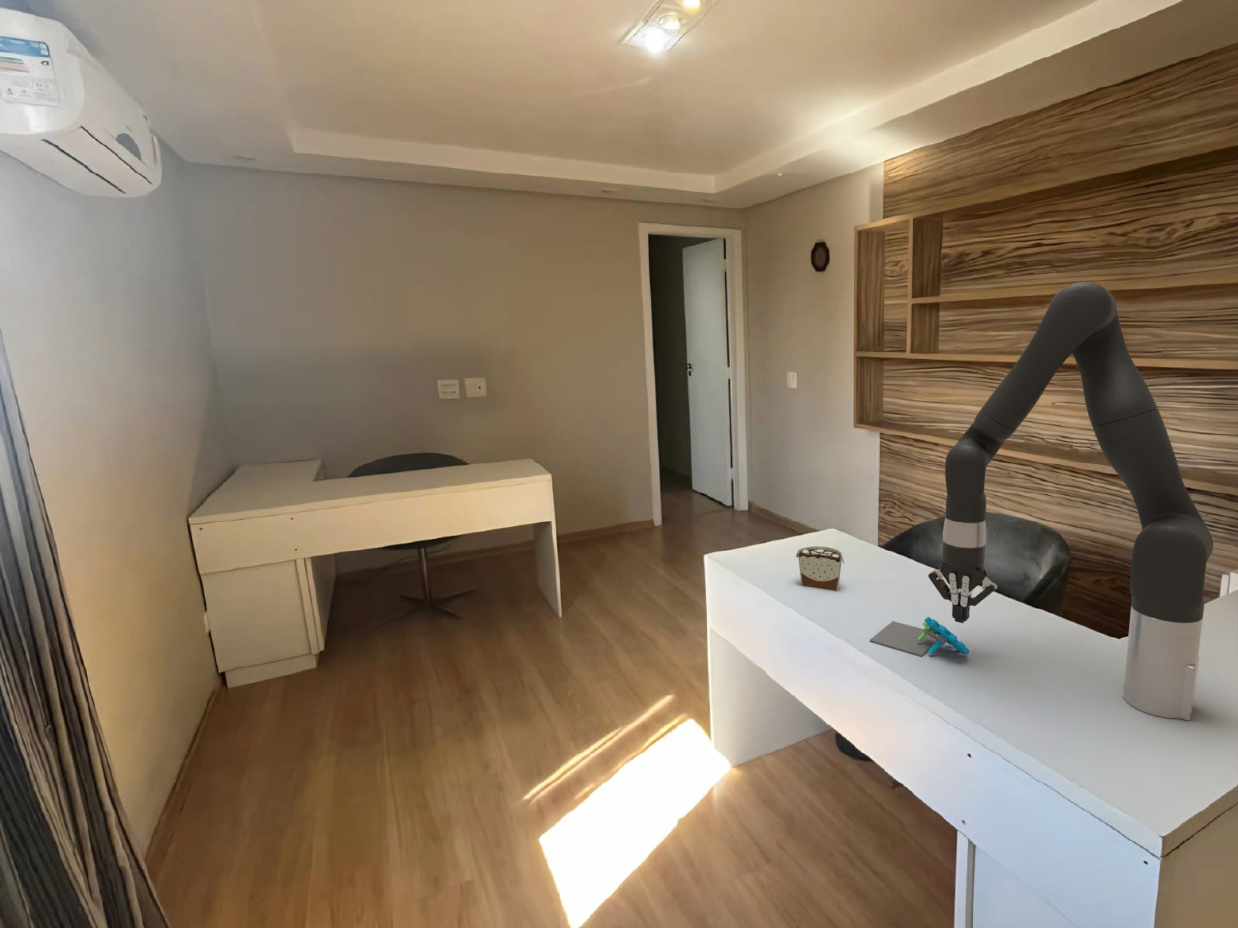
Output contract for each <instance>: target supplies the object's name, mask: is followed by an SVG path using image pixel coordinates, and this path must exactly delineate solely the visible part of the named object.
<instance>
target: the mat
mask: <svg viewBox="0 0 1238 928" xmlns="http://www.w3.org/2000/svg"><path fill="white" fill-rule="evenodd" d="M923 629H924V628H921V627H917V626H913V625H910V624H906V623H902V622H899V621H894V620H892V621H891V622H890V623H889V624H887V625H886V626H885V627H884V628H882V629H881V630H880V631H878V632H877V633H876V634H875V635H873V637H871V638H870V639H869V642H870V643H873V644H875V645H876V644H877V645H880V646H882V647H883V646H884V647H887V648H890V649H892V650H893V649H894V650H896V651H900V652H904V653H907V654H910V655H914V656H918V657H921V658H923V656H925V655H926V653H927V652H928V650H929V649H930V648H931V647H932V646H933V645H934V644H935V643H936V642H937V640H936V639H934V638H933V637H931V636H930V635H928V634H927V635H926V636H925V637H924V638H923V639H922V640H921V641H918V640H917V639H918V638H919V637H920V636H921V635H922V634H923V632H924V631H923ZM931 632H932V631H931ZM932 633H933V632H932ZM933 634H934V633H933ZM934 635H935V634H934ZM936 636H937V637H939V636H938V635H937V634H936Z"/></svg>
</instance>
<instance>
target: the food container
mask: <svg viewBox="0 0 1238 928" xmlns="http://www.w3.org/2000/svg"><path fill="white" fill-rule="evenodd" d="M795 558H796V559H797V558H798V565H799V576H800V584H801V587H804V588H811V589H817V590H822V591H831V592H836V593H837V592H839V587H840V579H841V578H840V576H841V567H842V564H843V565H844V563H845V560H844V555H843V553H842V551H840V550H838V549H836V548H834V547H828V546H820V545H819V546H818V545H815V546H806V547H802V548H800V549H798V550H797V552H796V555H795Z"/></svg>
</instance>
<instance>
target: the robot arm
mask: <svg viewBox="0 0 1238 928" xmlns="http://www.w3.org/2000/svg"><path fill="white" fill-rule="evenodd" d="M1117 307H1118V306H1117V303H1116V299H1115V297H1114V296H1113V294H1112V293H1111V292H1110V291H1109V290H1108V289H1106V287H1104V286H1103V285H1101V284H1098V283H1095V282H1090V281H1081V282H1075V283H1072V284H1069V285H1066V286H1065V287H1063V288H1062V289H1061V290H1060V291H1058V292H1057V293H1056V294H1055V295H1054V296H1053V298H1052V299H1051V301H1050V303H1049V305H1048V307H1047V309H1046V312H1045V314H1044V316H1043V318H1042V320H1041V322H1040V323H1039V325H1038V327H1037V329H1036V331H1035V333H1034V335H1033V336H1032V338H1031V340H1030V342H1029V343H1028V345H1027V346H1026V348H1025V349H1024V351H1023V352H1022V354H1021V355H1020V356H1019V358H1018V359H1017V361H1016V363H1015V364H1014V365H1013V366H1012V367H1011V369H1010V371H1009V372H1008V373H1007V374H1006V375H1005V377H1004V378H1003V379H1002V380H1001V382H1000V383H999V384H998V386H997V387H996V388H995V390H994V391H993V392H992V393H991V395H990V396H989V397H988V398H987V400H986V401H985V402H984V404H983V405H982V407H981V408H980V410H979V411H978V413H977V414H976V415H975V418H974V419H973V423H971V424H970V426H969V427H968V428H967V430H966V431H965V432H964V433H963V435H962V436H961V437H960V438H959V439H958V441H957V442H956V443H955V444H954V446H952V447H951V448H950V449H949V451H948V452H947V454H946V457H945V461H944V477H945V478H944V479H945V488H946V500H945V515H944V523H943V532H942V555H941V559H942V560H941V561H942V562H941V564H940V565H939V568H938V569H937V570H933V571H931V572H930V573H929V574H928V575H927V577H928V578H929V580H930V582H931V583H932V584H933V586H934V587H935V589H936V590H937V591H938V593H939V594H940V596H941V597H942V598H943V600H948V601H949V602H951V604H952V606H951V607H952V608H951V609H952V610H951V617H952V619H954V622H956V623H960V624H964V623H965V622H967V621H968V620H969V618H970V610H971V606H972V607H976V606H978V604H980V603H981V602H982V601H983V600H985V599H986V598H987V597H988V596H990V595H991V594H992V593H993V592H994V591H995V590H996V589H997V588H998V587H999V584H998V583H997V582H993V581H991V580H990V579H989V578H988V574H987V571H986V569H985V566H986V565H985V562H986V561H985V559H986V545H987V543H986V542H987V541H986V540H987V525H986V524H987V523H986V516H987V514H986V513H987V496H986V494H985V483H986V481H985V480H986V471H987V467H988V465H989V464H990V463H991V461H992V460H993V459H994V458H995V456H996V454H997V453H998V452H999V450H1001V448H1002V447H1003V445H1004V443H1005V442H1006V440H1007V439H1009V438H1010V437H1011V436H1012V435H1013V434H1014V433H1015V432H1016V431H1017V429H1018V428H1019V427H1020V426H1021V424H1022V423H1023V421H1024V420H1025V419H1026V418H1027V417H1028V415H1029V414H1030V413H1031V411H1032V410H1033V409H1034V407H1035V406H1036V404H1037V403H1038V402H1039V400H1040V398H1041V397H1042V395H1043V394H1044V392H1045V391H1046V388H1047V386H1048V385H1049V384H1050V382H1051V380H1052V379H1053V377H1054V376H1055V374H1056V373H1057V372H1058V370H1059V369H1061V366H1063V364H1064V363H1065V362H1066V361H1067V360H1068V358H1069V357H1070V356H1071V355H1072V356H1073V358H1074V360H1075V362H1076V365H1077V367H1078V371H1079V375H1080V379H1081V384H1082V390H1083V397H1084V402H1085V407H1086V410H1087V414H1088V417H1089V421H1090V424H1091V427H1092V430H1093V432H1094V435H1095V437H1096V439H1097V442H1098V445H1099V447H1100V450H1101V452H1102V453H1103V455H1104V457H1105V459H1106V460H1107V461H1108V463H1109V465H1110V466H1111V467H1112V469H1113V470H1114V471H1115V473H1116V474H1117V475H1118V477H1120V479H1121V481H1123V483H1124V484H1125V486H1126V488H1127V489H1128V491H1129V493H1130V494H1131V496H1132V498H1133V501H1134V504H1135V505H1134V506H1135V508H1136V510H1137V514H1138V518H1139V521H1140V525H1141V531H1140V532H1139V533H1138V534H1137V536H1136V538H1135V540H1134V543H1133V547H1132V555H1131V556H1132V558H1131V569H1130V582H1129V583H1130V586H1129V587H1130V594H1131V607H1130V618H1129V625H1128V626H1129V628H1128V637H1127V638H1128V639H1127V647H1126V648H1127V649H1126V660H1125V670H1124V682H1123V692H1122V695H1123V696H1122V697H1123V700H1124V701H1125V702H1126V703H1127V704H1128V705H1130V706H1131V707H1133V708H1135V709H1137V710H1138V711H1140V712H1143V713H1146V714H1149V715H1152V716H1156V717H1159V718H1166V719H1177V720H1178V719H1179V720H1185V721H1191V718H1192V713H1193V709H1194V706H1195V704H1194V703H1195V696H1196V695H1195V694H1196V687H1197V680H1198V669H1199V661H1200V655H1199V652H1200V643H1201V635H1202V628H1203V627H1202V626H1203V620H1204V619H1203V618H1204V611H1205V610H1204V609H1205V602H1204V588H1205V578H1206V569H1207V563H1208V560H1209V558H1210V557H1211V555H1212V553H1213V550H1214V540H1213V536H1212V533H1211V531H1210V530H1209V528H1208V527H1207V524H1206V523H1205V521H1204V519H1203V518H1202V516H1201V514H1200V513H1199V511H1198V508H1197V507H1196V505H1195V503H1194V501H1193V499H1192V498H1191V495H1190V494H1189V492H1188V490H1187V488H1186V486H1185V485H1186V484H1184V483H1185V482H1184V481H1183V478H1182V475H1181V472H1180V468H1179V464H1178V461H1177V458H1176V454H1175V451H1174V447H1173V446H1172V443H1171V440H1170V437H1169V433H1168V431H1167V428H1166V425H1165V422H1164V420H1163V418H1162V415H1161V413H1160V410H1159V408H1158V405H1157V402H1156V401H1155V399H1154V397H1153V395H1152V393H1151V391H1150V389H1149V387H1148V386H1147V383H1146V381H1145V380H1144V377H1143V376H1142V375H1141V373H1140V371H1139V369H1138V368H1137V366H1136V364H1135V363H1134V360H1133V359H1132V357H1131V355H1130V353H1129V350H1128V347H1127V344H1126V342H1125V341H1126V340H1125V338H1124V334H1123V329H1122V327H1121V322H1120V317H1119V314H1118V309H1117ZM981 583H982V585H981ZM948 585H949V586H948ZM979 585H981V589H982V591H980V592H979V593H978V594H977V595H976V596H974V597H972V596H973V591H974V590H975V589H976V588H977V587H978V586H979Z"/></svg>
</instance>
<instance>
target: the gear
mask: <svg viewBox="0 0 1238 928" xmlns="http://www.w3.org/2000/svg"><path fill="white" fill-rule="evenodd" d="M923 621H924V622H922V626H924V628H922V629H923V631H924V632H923V634H922V635H921V636H920V637H919V638H918V639H917V640H918V641H921V640H922V639H923V638H924V637H925V636H926V635H927V634H928V635H930V636H931V637H933V638H934V639H936V640H937V642H936V643H935V644H934V645H933V646H932V647H931V648H930V649H929V650H928V651H927V652H928V653H929V654H930V655H933V654H934V653H935V652H936V651H937V650H938V649H939V648H940V647H941V646H942V645H945V644H946V643H947V644H948V645H949V646H953V648H954V650H956V651H957V652H961V653H962V654H963V655H968V654H969V653H970V652H971V650H969V648H968V647H967V645H966V644H965V643H963V641H960V640H958V637H957V635H955V634H954V633H953V632H951V631H950V630H949V629H948V628H947V627H946V626H944V624H940V623H939V622H938V621H937V620H936V619H934V618H931V617H930V616H927V617H926V618H925V619H924V620H923ZM931 631H932V632H933V633H934V634H935V635H934V634H933V633H932V632H931ZM936 634H937V635H938V636H939V637H937V636H936Z"/></svg>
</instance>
